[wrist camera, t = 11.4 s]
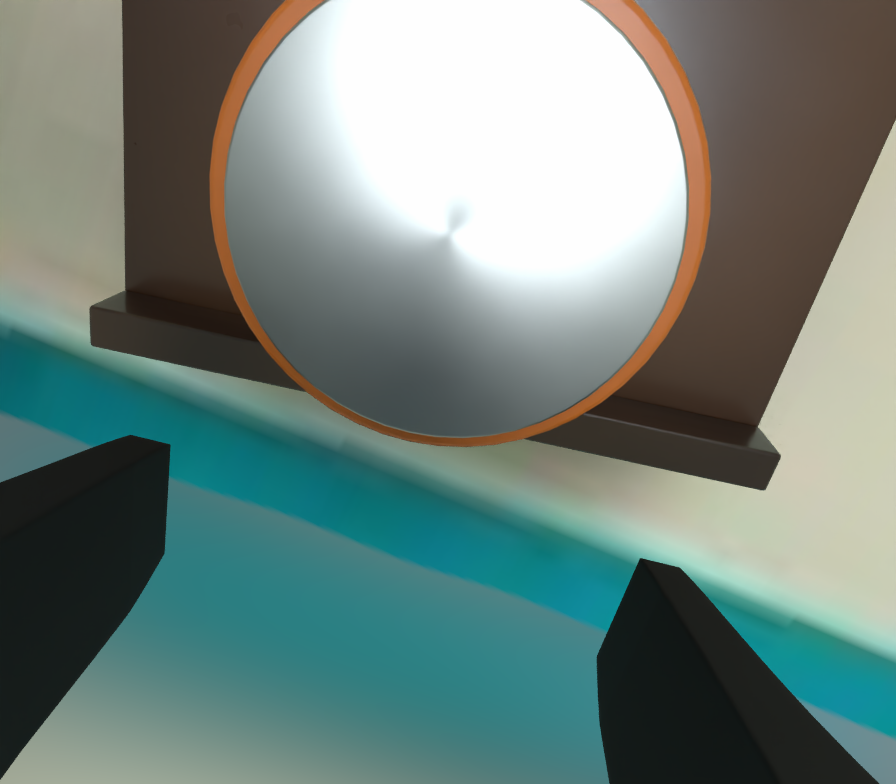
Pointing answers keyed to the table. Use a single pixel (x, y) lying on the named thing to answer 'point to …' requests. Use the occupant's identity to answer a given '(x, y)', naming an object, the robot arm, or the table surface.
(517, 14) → the can
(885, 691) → the table surface
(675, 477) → the table surface
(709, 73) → the shelf
